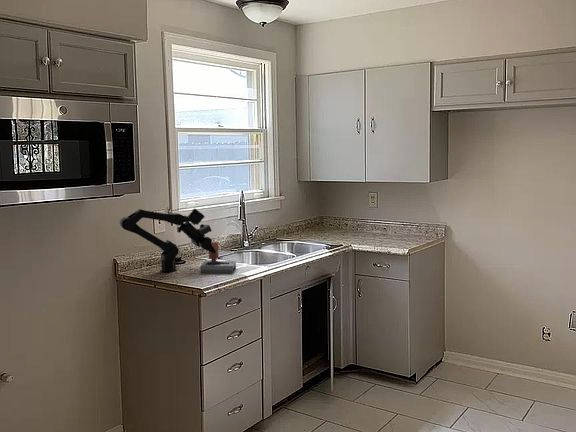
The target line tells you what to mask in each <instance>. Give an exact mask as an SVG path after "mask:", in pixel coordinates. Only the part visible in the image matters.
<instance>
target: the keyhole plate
mask: <svg viewBox="0 0 576 432" xmlns="http://www.w3.org/2000/svg"><path fill="white" fill-rule="evenodd" d="M199 267H200V274H202V275H203V274H216V275H217V274H227V275H228V274H234V270H235V269H237V261H236V260H216V261H211V260H204V261H203V262H202V264H201V265H200V266H199Z"/></svg>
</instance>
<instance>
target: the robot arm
mask: <svg viewBox="0 0 576 432" xmlns="http://www.w3.org/2000/svg"><path fill="white" fill-rule="evenodd" d="M205 217H206V216H205V215H204V214H203V213H202V212H201V211H199V210H198V209H197V208H193V209H192V210H191V212H190V213H189V214H188V215H183V214H181V213H179V212H178V213H177V212H170V213H169V212H168V213H167V212H166V213H164V212H157V211H152V210H151V211H150V210H145V209H142V208H139V209H137V210H136V211H134V212H132V213H131V214H129V215H128V216H124V217H122V218H121V219H120V220H119V226H120V228H122V229H123V230H125V231H126V232H127V231H128V232H131V233H133V234H136V235H138V236H140V237H141V238H143V239H144V240H146V241H148V242H150V243H151V244H153V245H155V246H157V247H159V249H160V250H162V252H161V253H160V257H161V260H160V261H161V262H160V263H161V265H160V266H161V268H160V270H159V272H162V273H166V274H168V273H173V272H177V271H178V269H177V265H176V264H177V262H176V257H177V256H178V255H179V251H180V250H179V249H180V248H179V247H178V246H177V244H176V243H173V242H172V241H171V240H168V239H166V241H165V240H162V239H160V238H158V237H157V236H156V235H153V234H152V233H150V232H149V231H147V230H146V229H144V228H142V227H141V226H140V225H138V224H137V223H138V222H139V221H140V220H141V219H143V218H144V219H148V220H149V219H150V220H156V221H163V222H167V223H169V224H173V225H175V226H177V227H176V232H177V233H179V234H180V233H181V232H183V233H184V234H185V235H186V236H187V238H188V239H190V241H191V243H192V244H193V245H194V246H196V247H198V248H201V249H202V250H205V251H208V252H209V251H210V252H213V253H216V251H215V249H214V248H213V246H212V244H211V242H212V241H213V239H212V238H211V237H209V236H206V234H208V233H209V232H210V233H211V232H212V228H211V226H210V224H204V223H201V222H202V221H203V219H205ZM200 223H201V224H200ZM199 224H200V225H199ZM195 225H196V226H198V225H199V228H196V226H195Z"/></svg>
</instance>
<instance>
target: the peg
mask: <svg viewBox="0 0 576 432" xmlns="http://www.w3.org/2000/svg"><path fill="white" fill-rule="evenodd" d="M211 244H212V246H213V248H214V249H215V251H216V253H213V252H210V251H208V259H209V260H210V261H217V260H218V259H219V258H220V257H219V241H216V240H215V241H214V240H212V242H211Z"/></svg>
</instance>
